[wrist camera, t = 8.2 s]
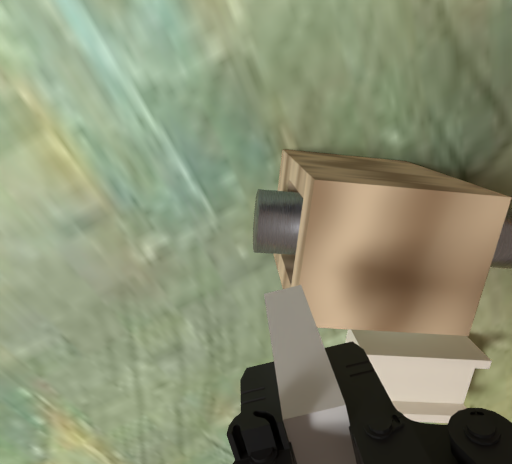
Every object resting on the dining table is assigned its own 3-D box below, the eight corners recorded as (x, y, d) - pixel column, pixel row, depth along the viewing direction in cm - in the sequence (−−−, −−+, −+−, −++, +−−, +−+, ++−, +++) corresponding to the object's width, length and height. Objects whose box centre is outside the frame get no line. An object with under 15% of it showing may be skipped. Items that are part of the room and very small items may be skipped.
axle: (251, 240, 27) (255, 261, 23) (256, 184, 26) (261, 196, 22) (569, 261, 29) (620, 283, 25) (588, 209, 28) (643, 225, 24)
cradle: (336, 384, 38) (349, 419, 34) (348, 325, 36) (364, 354, 32) (444, 389, 39) (470, 423, 35) (462, 331, 37) (491, 361, 33)
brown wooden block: (271, 245, 33) (293, 326, 21) (282, 149, 30) (314, 179, 19) (385, 253, 34) (468, 336, 22) (405, 161, 31) (511, 197, 19)
